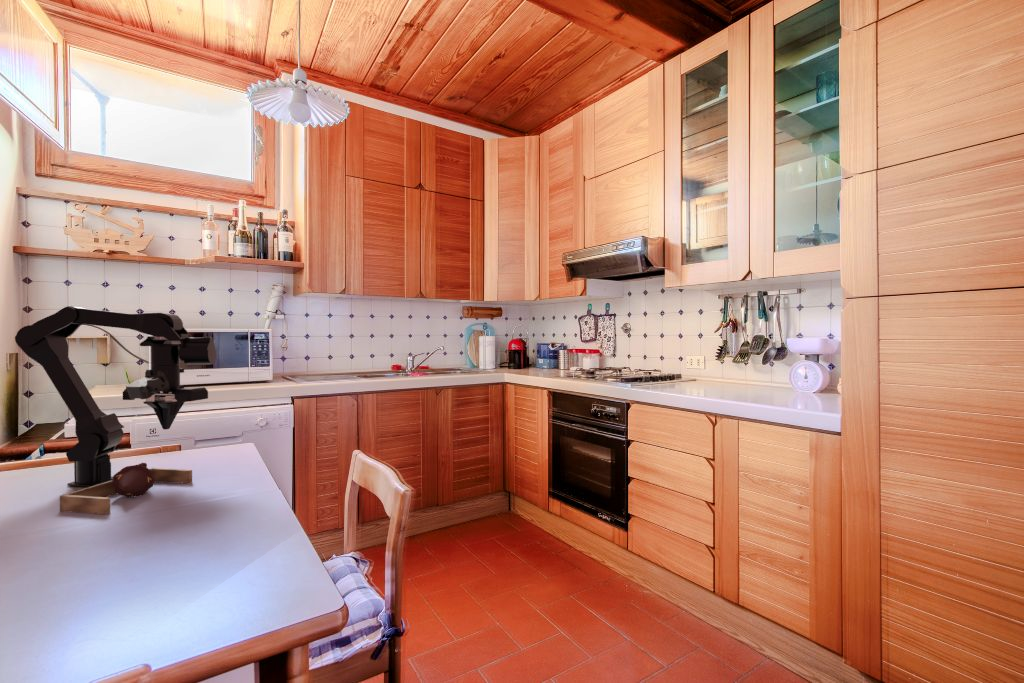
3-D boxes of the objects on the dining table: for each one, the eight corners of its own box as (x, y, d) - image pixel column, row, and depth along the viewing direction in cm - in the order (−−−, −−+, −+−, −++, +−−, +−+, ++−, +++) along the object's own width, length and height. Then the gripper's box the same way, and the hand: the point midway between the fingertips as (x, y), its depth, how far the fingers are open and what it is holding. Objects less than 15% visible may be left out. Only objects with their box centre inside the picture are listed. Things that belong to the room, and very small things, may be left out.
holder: (60, 510, 95) (59, 495, 95) (152, 480, 115) (152, 467, 115) (106, 514, 93) (106, 499, 93) (192, 482, 114) (192, 469, 114)
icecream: (152, 472, 100) (164, 461, 113) (108, 467, 97) (126, 457, 110) (142, 506, 99) (155, 491, 112) (97, 503, 96) (116, 488, 109)
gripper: (99, 366, 110) (100, 434, 110) (170, 367, 107) (171, 437, 107) (144, 363, 121) (144, 425, 121) (209, 364, 118) (210, 428, 118)
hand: (166, 429), depth 117 cm, fingers closed
